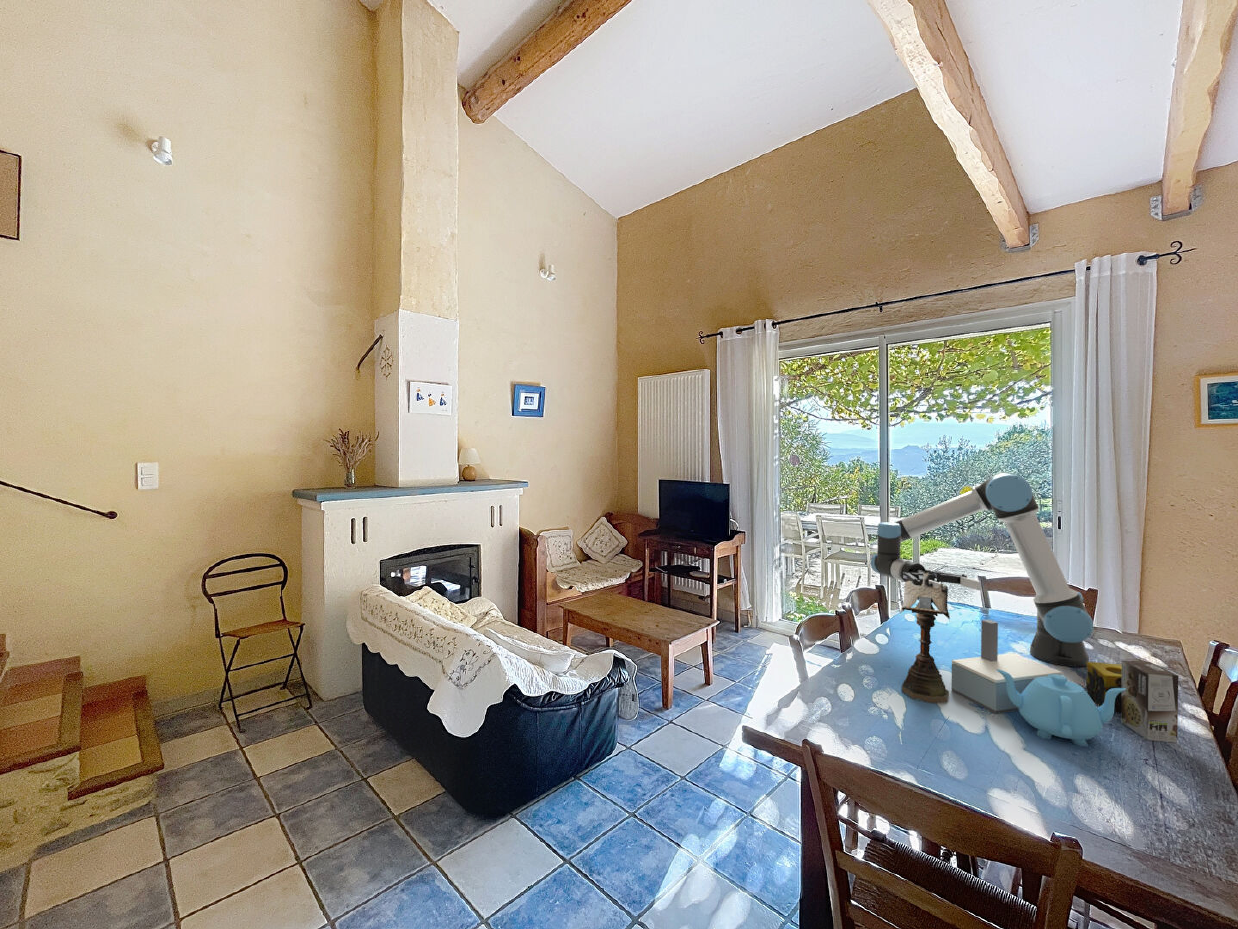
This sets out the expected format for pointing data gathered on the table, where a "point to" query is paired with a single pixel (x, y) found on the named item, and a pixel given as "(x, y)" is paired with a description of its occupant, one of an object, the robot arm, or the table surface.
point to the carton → (985, 690)
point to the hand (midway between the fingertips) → (961, 587)
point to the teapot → (1061, 707)
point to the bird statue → (925, 641)
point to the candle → (1104, 682)
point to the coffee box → (1150, 700)
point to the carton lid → (1001, 660)
